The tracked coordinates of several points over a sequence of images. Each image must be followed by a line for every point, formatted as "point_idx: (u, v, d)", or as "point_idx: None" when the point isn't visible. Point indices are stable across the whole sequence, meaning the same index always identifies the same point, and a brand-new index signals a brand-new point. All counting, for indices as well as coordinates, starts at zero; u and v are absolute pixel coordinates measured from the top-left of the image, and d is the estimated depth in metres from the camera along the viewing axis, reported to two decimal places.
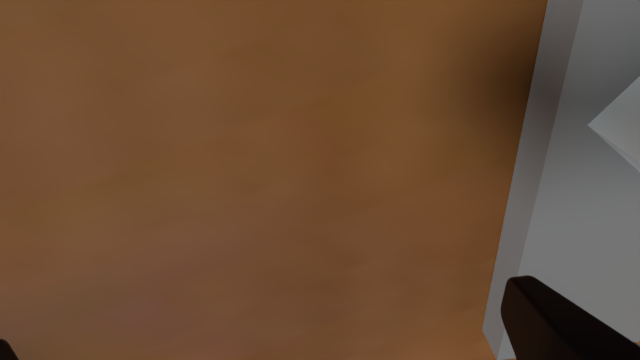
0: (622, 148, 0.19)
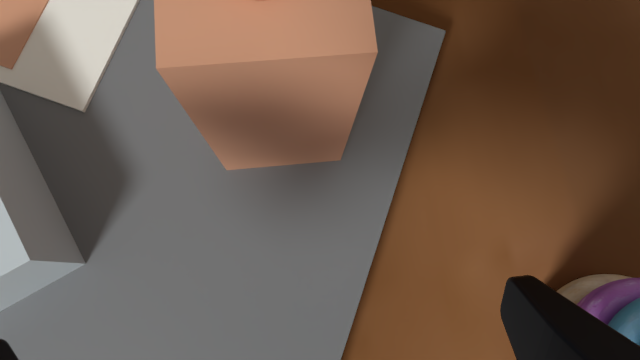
0: None
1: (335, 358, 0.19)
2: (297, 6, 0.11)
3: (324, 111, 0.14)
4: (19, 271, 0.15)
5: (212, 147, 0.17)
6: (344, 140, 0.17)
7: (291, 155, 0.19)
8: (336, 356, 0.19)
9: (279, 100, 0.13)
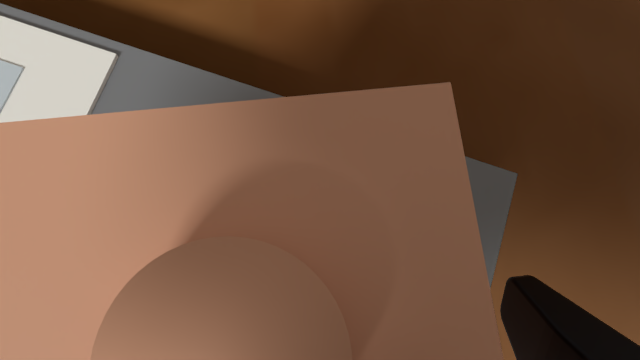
0: None
1: None
2: None
3: None
4: None
5: None
6: None
7: None
8: None
9: None
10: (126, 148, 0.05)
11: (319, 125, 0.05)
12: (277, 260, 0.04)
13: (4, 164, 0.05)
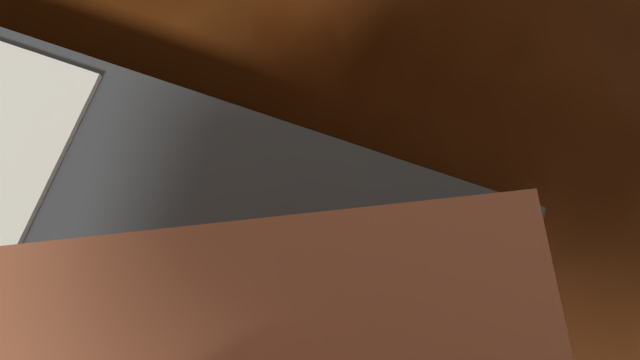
0: None
1: None
2: None
3: None
4: None
5: None
6: None
7: None
8: None
9: None
10: (61, 298, 0.03)
11: (348, 257, 0.03)
12: None
13: None
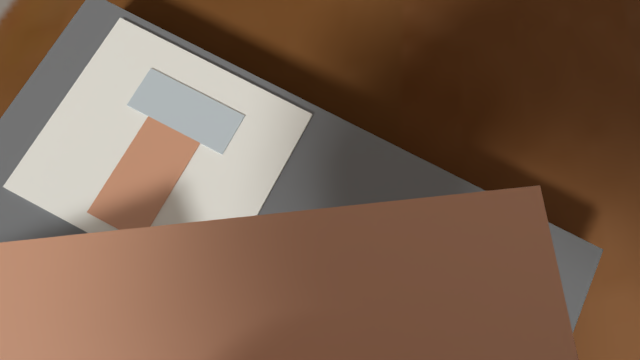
0: None
1: None
2: None
3: None
4: None
5: None
6: None
7: None
8: None
9: None
10: (66, 294, 0.03)
11: (352, 254, 0.03)
12: None
13: None
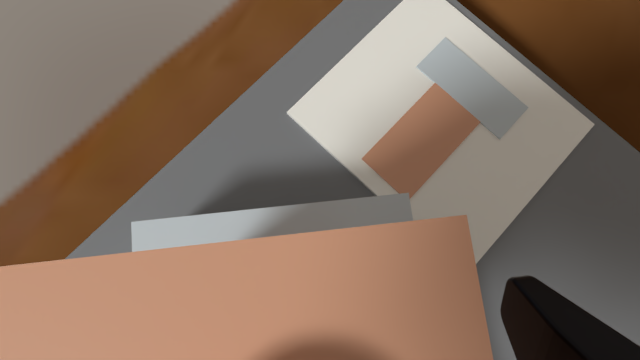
0: None
1: None
2: None
3: None
4: None
5: None
6: None
7: None
8: None
9: None
10: (137, 291, 0.05)
11: (333, 264, 0.05)
12: None
13: (12, 311, 0.05)
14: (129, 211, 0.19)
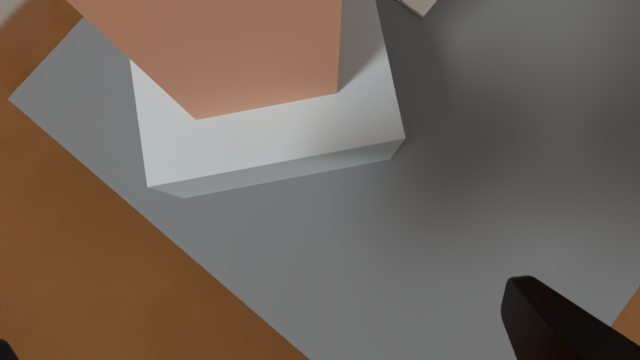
0: (163, 190, 0.17)
1: None
2: None
3: (294, 6, 0.10)
4: (384, 144, 0.16)
5: (160, 84, 0.12)
6: (335, 59, 0.13)
7: (271, 89, 0.14)
8: None
9: None
10: None
11: None
12: None
13: None
14: None
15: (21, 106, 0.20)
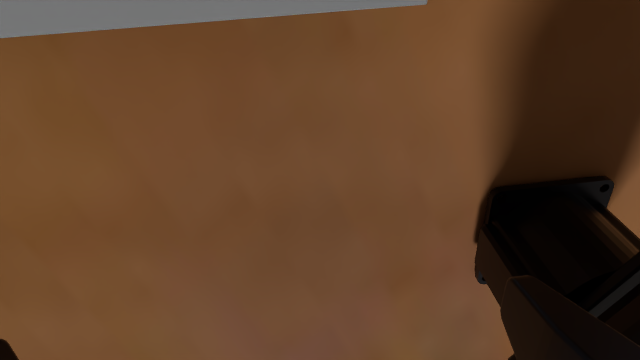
0: None
1: None
2: None
3: None
4: None
5: None
6: None
7: None
8: None
9: None
10: None
11: None
12: None
13: None
14: None
15: None
